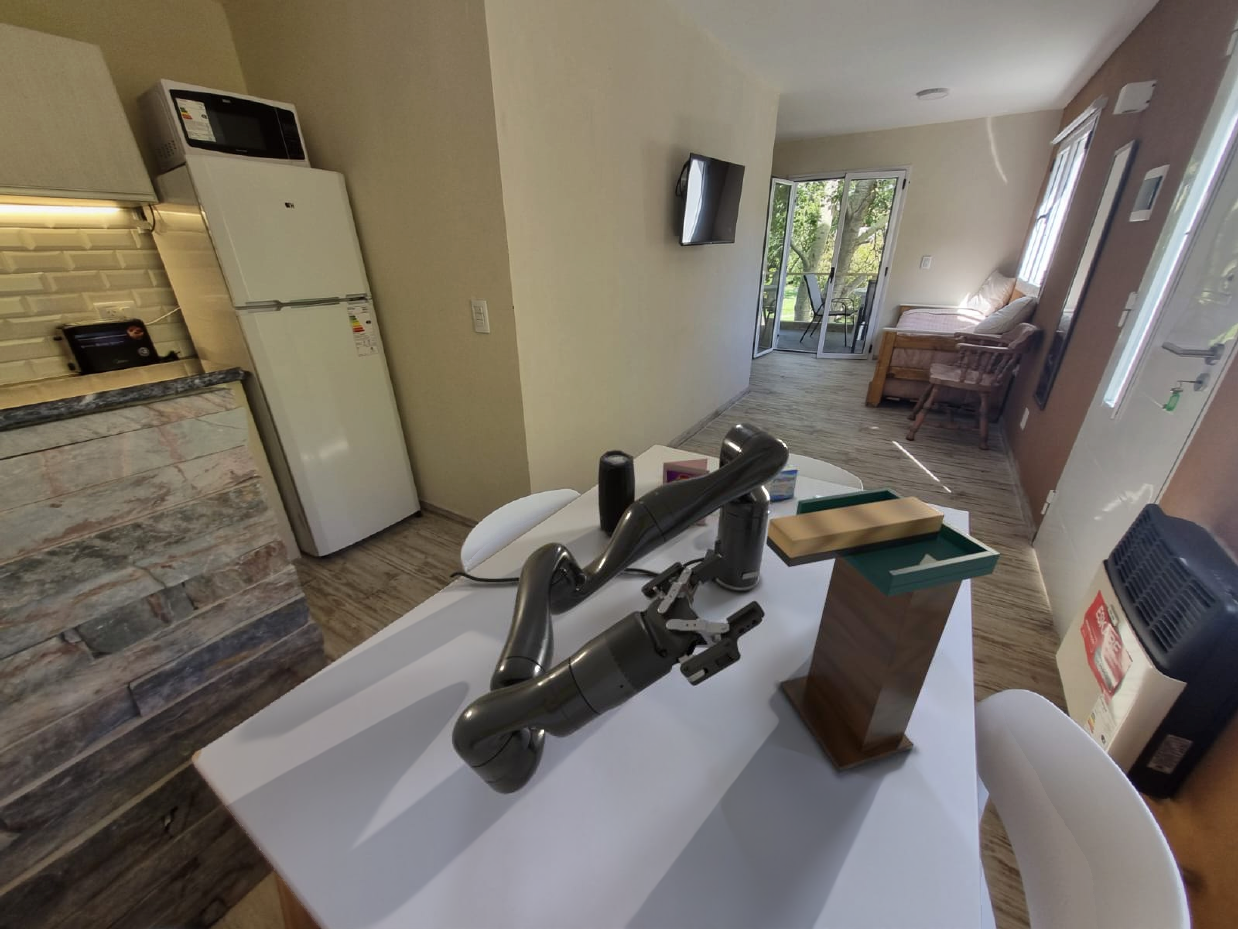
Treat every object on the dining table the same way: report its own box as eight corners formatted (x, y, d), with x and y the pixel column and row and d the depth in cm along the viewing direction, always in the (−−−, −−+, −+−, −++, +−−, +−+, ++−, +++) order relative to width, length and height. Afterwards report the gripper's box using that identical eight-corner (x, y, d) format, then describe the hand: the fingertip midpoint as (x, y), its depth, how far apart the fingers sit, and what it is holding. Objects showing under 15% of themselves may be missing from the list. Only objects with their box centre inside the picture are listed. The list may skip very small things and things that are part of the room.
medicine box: (768, 501, 129) (772, 472, 126) (759, 494, 133) (763, 466, 130) (793, 497, 131) (798, 469, 128) (784, 490, 135) (789, 462, 132)
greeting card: (660, 517, 122) (662, 464, 116) (668, 503, 128) (671, 452, 122) (703, 526, 118) (708, 472, 112) (710, 512, 124) (715, 459, 118)
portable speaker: (601, 541, 112) (599, 466, 104) (597, 520, 121) (595, 449, 112) (637, 538, 113) (638, 463, 105) (631, 518, 122) (631, 447, 113)
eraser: (788, 567, 52) (793, 541, 50) (765, 544, 56) (769, 518, 54) (936, 539, 56) (945, 514, 55) (906, 519, 60) (913, 496, 59)
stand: (838, 772, 63) (895, 587, 50) (779, 686, 76) (812, 520, 63) (912, 749, 66) (983, 568, 53) (843, 670, 79) (888, 507, 66)
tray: (887, 597, 49) (893, 575, 48) (795, 518, 63) (798, 500, 62) (992, 574, 52) (1000, 553, 51) (882, 504, 66) (887, 486, 65)
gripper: (622, 698, 46) (763, 604, 46) (589, 600, 58) (700, 526, 58) (657, 733, 49) (787, 646, 49) (619, 634, 62) (723, 565, 62)
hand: (740, 582), depth 54 cm, fingers open, 8 cm apart
